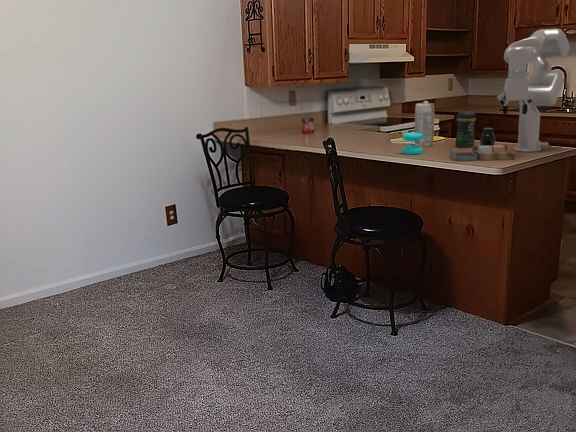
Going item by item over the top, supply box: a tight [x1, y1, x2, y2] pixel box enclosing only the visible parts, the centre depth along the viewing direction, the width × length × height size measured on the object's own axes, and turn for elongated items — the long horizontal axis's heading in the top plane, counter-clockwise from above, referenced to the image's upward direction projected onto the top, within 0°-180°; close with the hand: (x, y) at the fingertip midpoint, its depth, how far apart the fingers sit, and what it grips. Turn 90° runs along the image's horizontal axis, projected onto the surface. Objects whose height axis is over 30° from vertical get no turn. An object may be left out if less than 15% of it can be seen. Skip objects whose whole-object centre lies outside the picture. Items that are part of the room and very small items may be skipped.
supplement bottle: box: [479, 127, 496, 146], centre depth 290 cm, size 7×7×12 cm
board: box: [471, 144, 516, 161], centre depth 275 cm, size 16×12×5 cm
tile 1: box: [477, 145, 492, 153], centre depth 275 cm, size 5×5×2 cm
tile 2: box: [491, 144, 505, 152], centre depth 275 cm, size 5×5×2 cm
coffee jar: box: [455, 110, 477, 148], centre depth 310 cm, size 10×8×19 cm
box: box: [449, 148, 478, 162], centre depth 276 cm, size 10×12×4 cm
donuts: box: [401, 132, 423, 156], centre depth 296 cm, size 10×10×10 cm
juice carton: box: [414, 100, 435, 147], centre depth 319 cm, size 9×8×24 cm
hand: (514, 114), depth 270 cm, fingers open, 8 cm apart
